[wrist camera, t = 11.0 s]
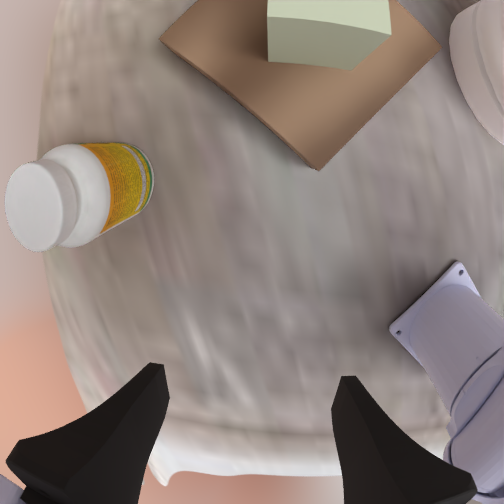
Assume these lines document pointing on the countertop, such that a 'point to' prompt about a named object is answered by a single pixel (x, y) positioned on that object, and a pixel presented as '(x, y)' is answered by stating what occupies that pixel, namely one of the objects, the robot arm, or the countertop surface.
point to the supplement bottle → (77, 194)
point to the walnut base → (297, 74)
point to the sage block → (326, 31)
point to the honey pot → (481, 62)
